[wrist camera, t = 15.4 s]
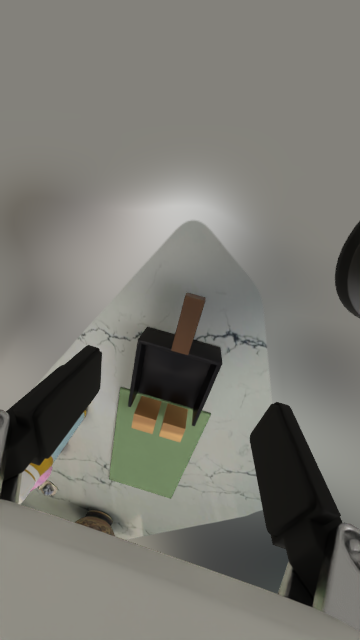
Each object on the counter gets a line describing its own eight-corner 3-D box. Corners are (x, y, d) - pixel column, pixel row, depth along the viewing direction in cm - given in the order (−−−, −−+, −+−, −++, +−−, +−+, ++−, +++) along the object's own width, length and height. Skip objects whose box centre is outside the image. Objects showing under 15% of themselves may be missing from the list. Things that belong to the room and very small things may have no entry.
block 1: (133, 413, 31) (131, 428, 32) (156, 420, 30) (152, 434, 32) (141, 395, 34) (138, 409, 36) (161, 401, 34) (158, 414, 36)
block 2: (163, 422, 30) (158, 436, 32) (185, 429, 30) (180, 442, 32) (167, 403, 34) (163, 416, 36) (188, 409, 34) (183, 422, 36)
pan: (155, 277, 25) (145, 284, 21) (239, 300, 24) (245, 312, 20) (135, 389, 34) (126, 408, 30) (196, 406, 34) (194, 428, 30)
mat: (120, 386, 35) (120, 388, 34) (210, 413, 34) (210, 415, 34) (109, 477, 50) (109, 479, 50) (171, 496, 50) (170, 498, 49)
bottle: (55, 408, 40) (-21, 493, 27) (60, 389, 37) (-23, 474, 24) (84, 421, 41) (23, 511, 27) (91, 403, 38) (26, 494, 24)
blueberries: (39, 488, 60) (34, 495, 59) (38, 477, 57) (32, 484, 55) (58, 494, 60) (53, 502, 59) (58, 484, 57) (53, 491, 55)
